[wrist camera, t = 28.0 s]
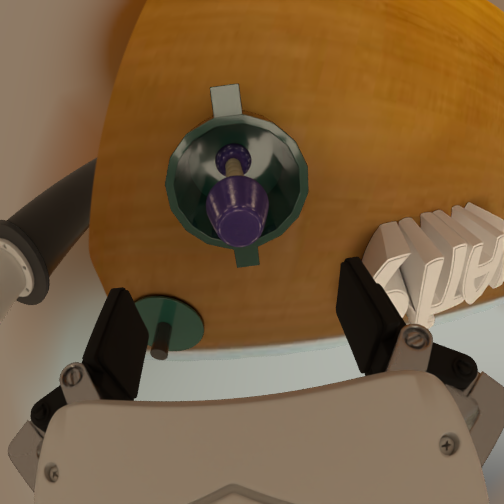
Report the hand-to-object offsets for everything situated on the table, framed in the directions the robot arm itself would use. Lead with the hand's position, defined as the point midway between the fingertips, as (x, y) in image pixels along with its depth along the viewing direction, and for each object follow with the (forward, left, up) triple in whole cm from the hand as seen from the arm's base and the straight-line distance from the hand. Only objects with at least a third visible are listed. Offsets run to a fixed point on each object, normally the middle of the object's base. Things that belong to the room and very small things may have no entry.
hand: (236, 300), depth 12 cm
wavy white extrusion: (+31, -17, -24) cm, 43 cm away
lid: (-15, -25, -23) cm, 37 cm away
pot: (0, 0, -24) cm, 24 cm away
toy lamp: (0, 0, -23) cm, 23 cm away
